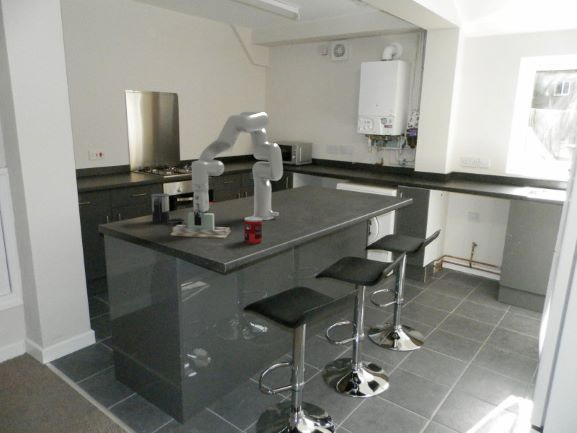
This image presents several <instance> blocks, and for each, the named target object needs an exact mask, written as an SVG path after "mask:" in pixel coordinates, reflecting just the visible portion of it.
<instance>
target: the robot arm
mask: <svg viewBox="0 0 577 433" xmlns="http://www.w3.org/2000/svg"><path fill="white" fill-rule="evenodd" d="M269 123H270V117H269V116H268V113H266V112H264V111H243V112H241V113H239V114H232V115H229V116H228V118H227V120H226V121H225V123H224V125H223V127H222V129H221V131H220V133H219V134H218V136H217V137H216V139H215V140H214V141H212V142H211V143H210V144H208V146H206V147H205V148H204V150H202V152H201V154H200V155H199V158H198V160H194V161H192V162H191V187H192V188H191V191H192V192H193V199H192V200H193V202H192V203H193V204H192V206H193V213H194V225H198V226H201V217H200V216H201V213H208V210H209V209H210V201H209V200H210V199H209V198H210V197H209V189H210V188H209V187H210V186H209V177H210V176H211V177H212V176H213V177H217V176H220V175H222V174H223V173H224V171H225V164H224V163H223V162H222V161H221V160H219V159H218V160H217V159H215V158H216V157H217V156H218V155H220V154H222V153H224V152H227V151H230V150H231V149H232V148H233V147H234V145H235V143H236V141H237V140H238V137H239V136H240V134H243V133H244V134H245V133H246V134H250V139H251V147H252V154H253V157H254V158H255V159H256V160H260V161H257V162H255V163H254V164H253V166H252V176H253V185H254V187H253V189H254V190H253V191H254V192H253V193H254V194H253V198H254V199H253V200H254V201H253V214H252V215H251V216H250V217H260V218H262V221H269V220H273V219H274V218H275V217H274V216H276V217H277V216H278V217H279V215H280V213H279V211H273V209H272V183H271V181H275V182H277V181H279V180H281V179H282V177H283V175H284V168H283V157H282V150H281V147H280V146H279V144H278V143H275V142H269V141H268V135H267V131H266V128H267V127H268V125H269Z"/></svg>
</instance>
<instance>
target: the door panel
mask: <svg viewBox="0 0 577 433" xmlns="http://www.w3.org/2000/svg"><path fill="white" fill-rule="evenodd" d="M200 217H201V226H198V225H194V211H193V212H188V213H187V225H188V228H190V229H209V230H214V227H215V213H212V212H211V213H208V212H206V213H201V216H200Z"/></svg>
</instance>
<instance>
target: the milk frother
mask: <svg viewBox="0 0 577 433" xmlns="http://www.w3.org/2000/svg"><path fill="white" fill-rule="evenodd" d="M150 196H151V210H152V211H151V214H152V215H151V216H152V218H151V219H152V221H151V222H152V223H153V224H157V225H160V224H161V225H164V224H169V223H170V222H171V223H178V224H182V223H183V222H184V221H185V219H184V218H182V217H180V218H179V217H178V218H171V219H170V198H169V196H170V194H168V193H152V194H150Z"/></svg>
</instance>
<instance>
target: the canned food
mask: <svg viewBox="0 0 577 433" xmlns="http://www.w3.org/2000/svg"><path fill="white" fill-rule="evenodd" d="M243 219H244V220H243V221H244V223H243V226H244V229H243V233H244V234H243V235H244V236H243V237H244V243H245V244H248V245H259V244H261V243H262V241H263V220H262V218H260V217H251V216H247V217H244V218H243Z"/></svg>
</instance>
